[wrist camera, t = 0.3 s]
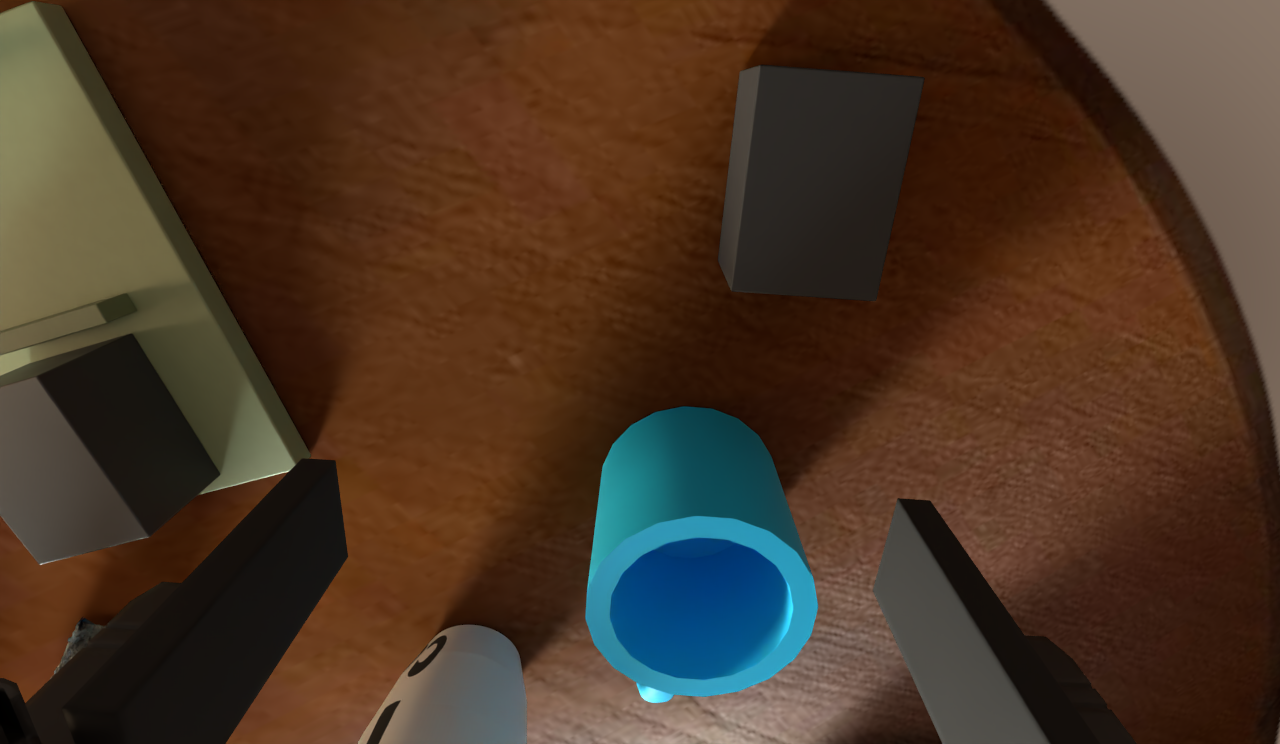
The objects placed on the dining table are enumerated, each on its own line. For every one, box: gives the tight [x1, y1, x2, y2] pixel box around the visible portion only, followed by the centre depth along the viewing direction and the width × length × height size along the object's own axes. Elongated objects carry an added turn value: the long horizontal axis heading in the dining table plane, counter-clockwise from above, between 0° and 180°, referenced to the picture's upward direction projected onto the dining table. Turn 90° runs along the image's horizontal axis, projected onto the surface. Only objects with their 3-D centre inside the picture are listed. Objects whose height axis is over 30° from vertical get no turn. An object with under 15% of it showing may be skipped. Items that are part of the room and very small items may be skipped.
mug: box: [585, 406, 818, 703], centre depth 27 cm, size 12×8×8 cm
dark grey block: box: [718, 65, 925, 301], centre depth 23 cm, size 7×5×4 cm
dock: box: [0, 1, 311, 565], centre depth 24 cm, size 19×12×6 cm, turn 16°
